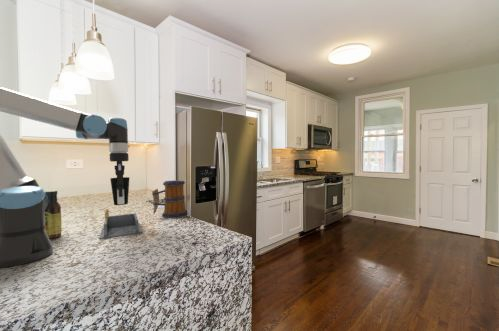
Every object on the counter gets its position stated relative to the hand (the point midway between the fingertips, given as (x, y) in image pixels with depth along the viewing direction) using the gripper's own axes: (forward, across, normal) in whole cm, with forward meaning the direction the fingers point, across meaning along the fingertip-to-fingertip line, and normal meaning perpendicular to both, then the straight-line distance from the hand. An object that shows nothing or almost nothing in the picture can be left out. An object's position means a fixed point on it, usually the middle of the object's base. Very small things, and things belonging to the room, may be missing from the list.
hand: (120, 202), depth 109 cm
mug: (+13, +18, -25) cm, 33 cm away
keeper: (+13, 0, 0) cm, 13 cm away
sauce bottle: (+13, +6, +26) cm, 30 cm away
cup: (+1, 0, 0) cm, 1 cm away
